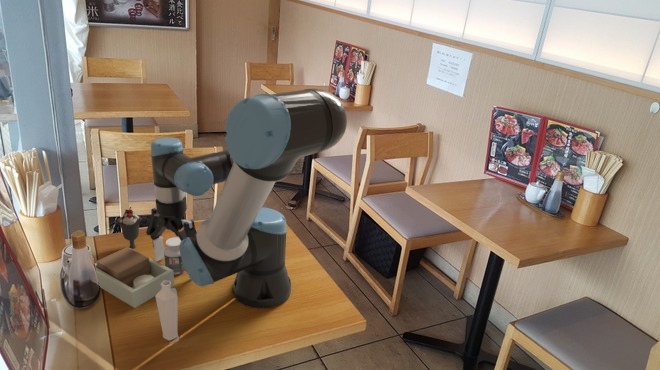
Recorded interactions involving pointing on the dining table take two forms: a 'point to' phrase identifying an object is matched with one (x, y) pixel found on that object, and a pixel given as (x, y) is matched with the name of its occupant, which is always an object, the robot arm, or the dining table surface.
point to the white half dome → (141, 280)
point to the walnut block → (125, 265)
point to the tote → (140, 293)
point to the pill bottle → (174, 256)
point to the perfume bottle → (168, 311)
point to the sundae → (130, 226)
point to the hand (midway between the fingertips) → (176, 267)
